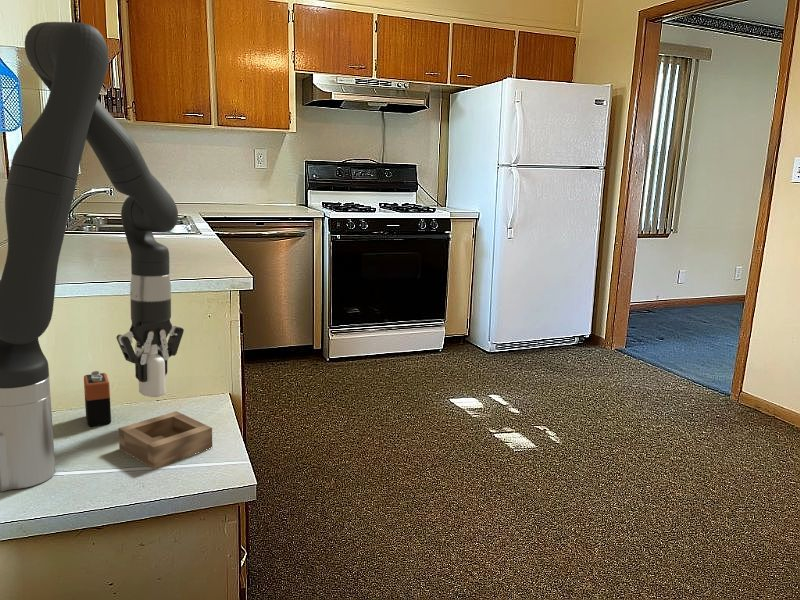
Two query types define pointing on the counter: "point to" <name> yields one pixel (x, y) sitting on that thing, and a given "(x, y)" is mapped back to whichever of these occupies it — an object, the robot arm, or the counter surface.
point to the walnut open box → (165, 439)
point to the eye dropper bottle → (154, 375)
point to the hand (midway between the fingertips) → (151, 378)
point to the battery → (97, 399)
